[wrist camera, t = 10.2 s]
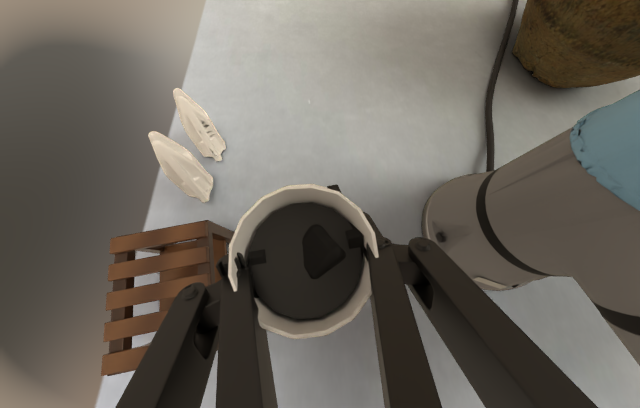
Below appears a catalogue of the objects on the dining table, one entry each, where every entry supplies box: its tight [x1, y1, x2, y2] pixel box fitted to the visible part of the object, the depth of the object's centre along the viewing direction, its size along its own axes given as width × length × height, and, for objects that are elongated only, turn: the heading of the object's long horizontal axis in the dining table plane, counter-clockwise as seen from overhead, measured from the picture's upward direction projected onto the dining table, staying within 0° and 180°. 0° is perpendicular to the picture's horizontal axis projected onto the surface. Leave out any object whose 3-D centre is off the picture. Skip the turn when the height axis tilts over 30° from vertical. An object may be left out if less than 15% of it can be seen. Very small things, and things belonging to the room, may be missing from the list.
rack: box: [101, 220, 235, 376], centre depth 25 cm, size 9×12×9 cm
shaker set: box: [148, 88, 226, 203], centre depth 28 cm, size 12×4×11 cm, turn 176°
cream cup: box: [228, 184, 379, 339], centre depth 15 cm, size 7×7×10 cm
